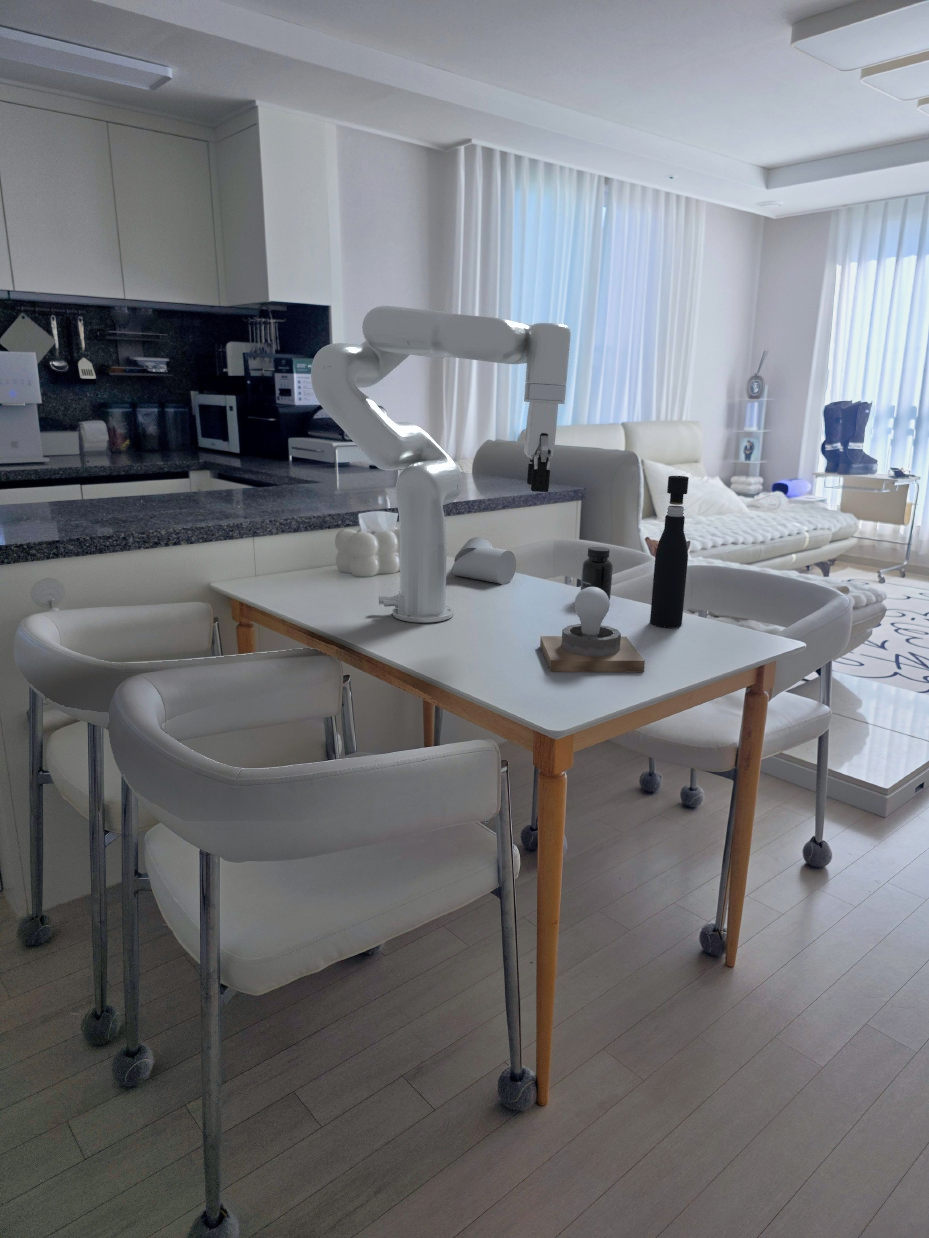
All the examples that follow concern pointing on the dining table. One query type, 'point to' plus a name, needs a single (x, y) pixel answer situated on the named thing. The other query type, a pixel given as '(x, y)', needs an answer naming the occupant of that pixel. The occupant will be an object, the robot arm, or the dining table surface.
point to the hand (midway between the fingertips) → (537, 488)
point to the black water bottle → (671, 561)
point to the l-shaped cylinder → (484, 562)
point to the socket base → (591, 651)
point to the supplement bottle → (597, 570)
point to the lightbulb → (591, 610)
